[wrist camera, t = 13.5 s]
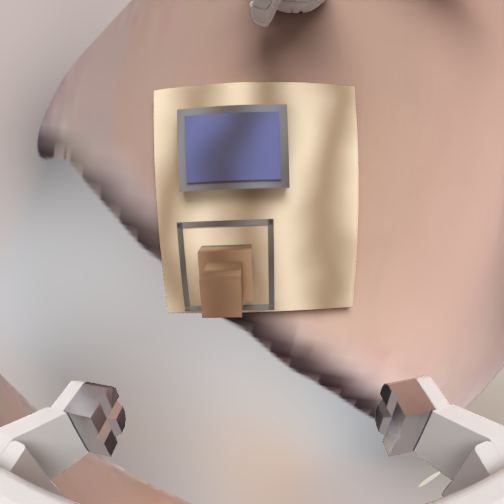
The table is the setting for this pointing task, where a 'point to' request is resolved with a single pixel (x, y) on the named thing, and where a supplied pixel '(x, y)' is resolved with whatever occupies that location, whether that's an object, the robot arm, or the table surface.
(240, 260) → the stamp
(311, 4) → the mug
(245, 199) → the board
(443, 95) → the table surface
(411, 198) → the table surface
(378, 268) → the table surface
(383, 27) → the table surface
